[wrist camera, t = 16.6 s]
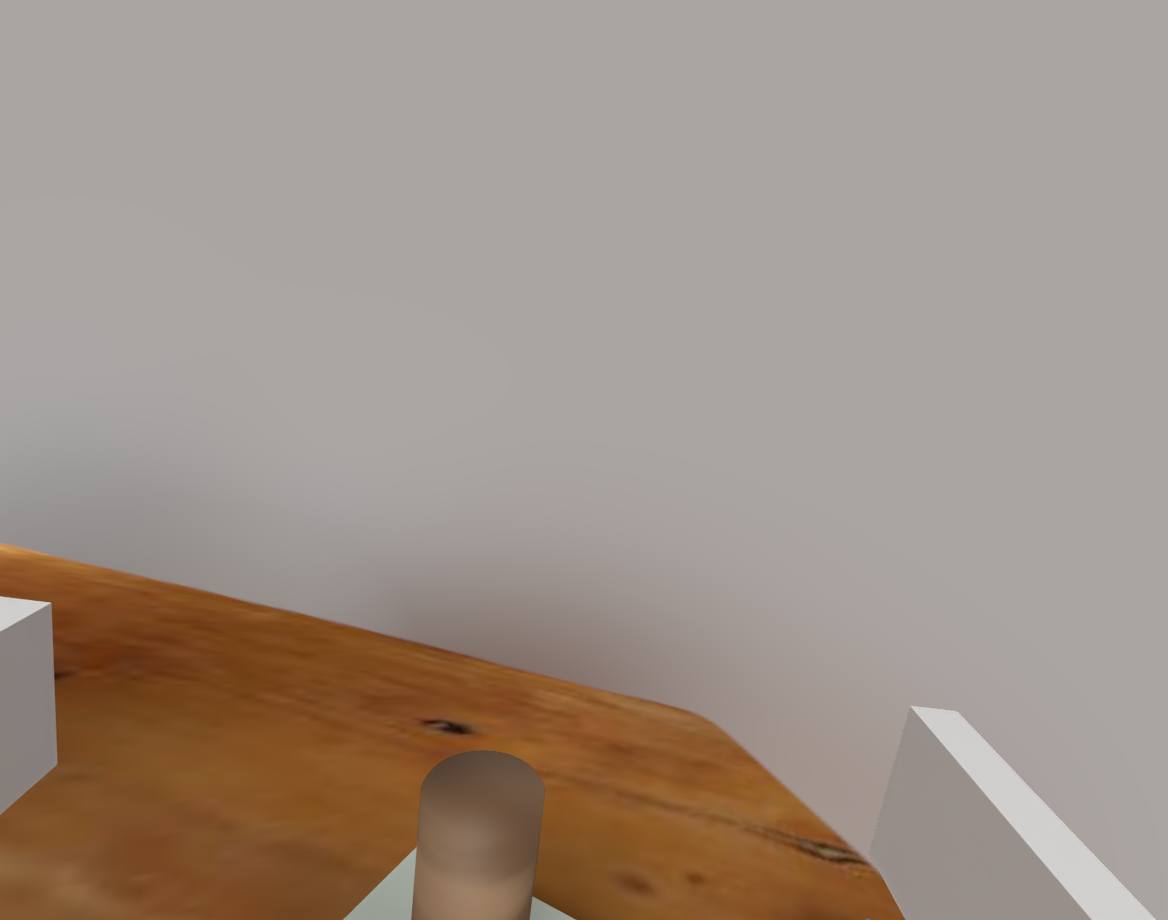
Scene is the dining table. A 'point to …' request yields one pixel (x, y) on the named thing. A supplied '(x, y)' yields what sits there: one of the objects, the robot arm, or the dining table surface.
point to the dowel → (478, 839)
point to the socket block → (391, 901)
